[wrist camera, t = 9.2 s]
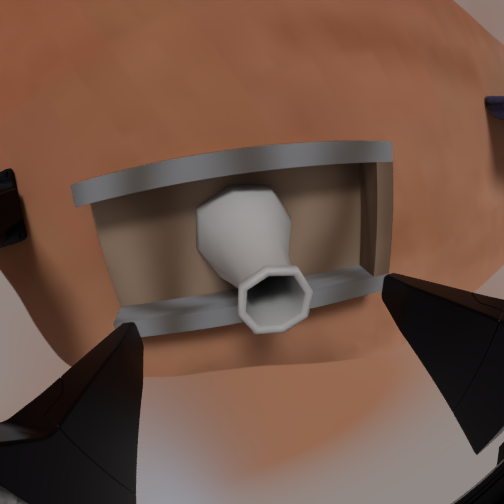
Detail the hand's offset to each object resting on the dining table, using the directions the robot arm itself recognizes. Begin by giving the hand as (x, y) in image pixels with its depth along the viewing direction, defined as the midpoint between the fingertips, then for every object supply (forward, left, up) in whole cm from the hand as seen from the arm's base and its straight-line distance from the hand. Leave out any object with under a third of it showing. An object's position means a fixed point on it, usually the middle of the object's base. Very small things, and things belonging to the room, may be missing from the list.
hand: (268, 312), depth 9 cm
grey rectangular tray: (+1, -1, -13) cm, 13 cm away
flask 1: (+1, -1, -12) cm, 12 cm away
